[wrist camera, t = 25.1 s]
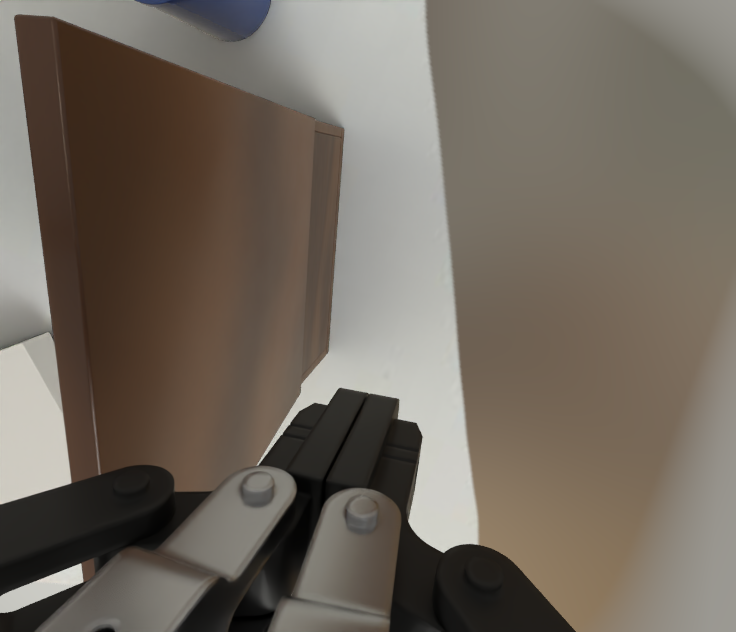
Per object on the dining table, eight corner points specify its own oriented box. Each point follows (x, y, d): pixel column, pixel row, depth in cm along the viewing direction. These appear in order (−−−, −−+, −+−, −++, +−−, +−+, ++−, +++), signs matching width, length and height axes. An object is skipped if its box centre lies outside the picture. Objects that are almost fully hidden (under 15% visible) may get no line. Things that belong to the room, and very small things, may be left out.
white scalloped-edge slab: (157, 513, 46) (56, 328, 42) (133, 539, 43) (22, 342, 39) (49, 532, 51) (-52, 367, 47) (21, 556, 48) (-90, 383, 43)
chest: (133, 317, 40) (69, 344, 34) (119, 109, 35) (41, 96, 29) (328, 352, 37) (297, 389, 30) (344, 128, 32) (311, 118, 25)
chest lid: (94, 683, 13) (121, 688, 13) (11, 12, 8) (53, 15, 8) (288, 391, 30) (300, 393, 30) (301, 116, 25) (315, 118, 25)
